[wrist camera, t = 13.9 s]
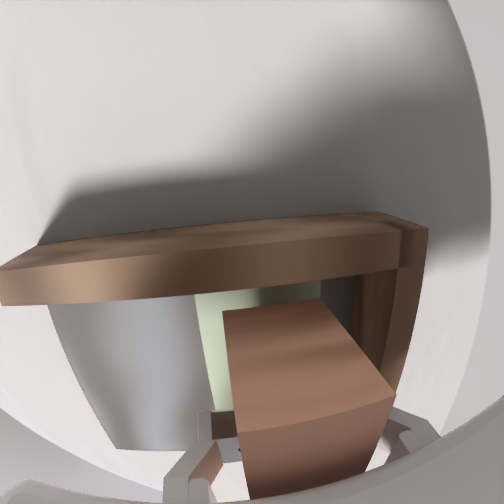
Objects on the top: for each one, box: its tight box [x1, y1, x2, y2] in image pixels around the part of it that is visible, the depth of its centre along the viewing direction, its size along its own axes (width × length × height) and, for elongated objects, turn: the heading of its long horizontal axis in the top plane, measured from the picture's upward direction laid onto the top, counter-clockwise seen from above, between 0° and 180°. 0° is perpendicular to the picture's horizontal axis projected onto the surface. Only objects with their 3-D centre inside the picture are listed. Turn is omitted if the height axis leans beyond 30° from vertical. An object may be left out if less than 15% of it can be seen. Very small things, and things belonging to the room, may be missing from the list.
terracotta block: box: [222, 298, 397, 500], centre depth 10 cm, size 8×4×6 cm, turn 4°
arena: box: [0, 212, 428, 451], centre depth 13 cm, size 18×16×4 cm
